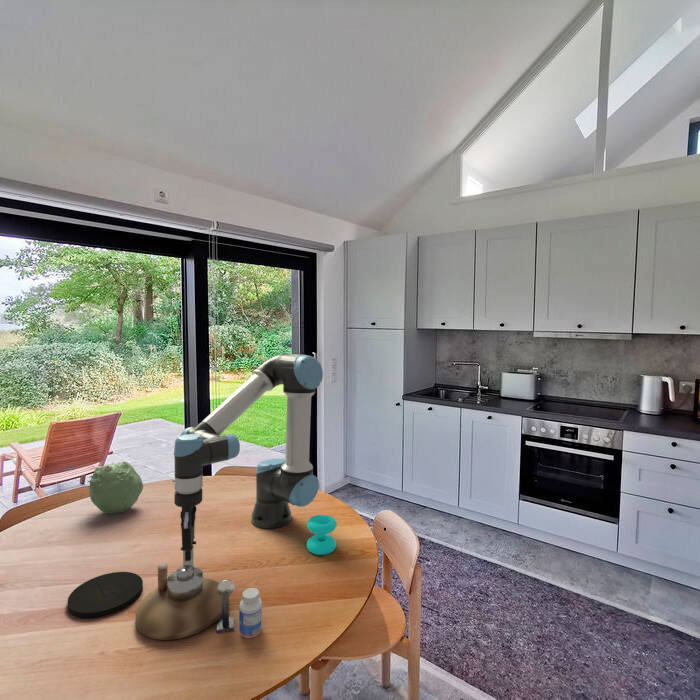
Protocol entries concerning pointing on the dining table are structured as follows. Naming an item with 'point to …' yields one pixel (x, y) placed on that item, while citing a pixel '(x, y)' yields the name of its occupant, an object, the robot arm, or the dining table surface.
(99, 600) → the wireless charger
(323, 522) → the donuts
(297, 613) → the dining table surface
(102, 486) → the cabbage
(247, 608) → the pill bottle
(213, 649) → the dining table surface
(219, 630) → the dial post
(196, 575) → the cover
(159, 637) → the turntable
